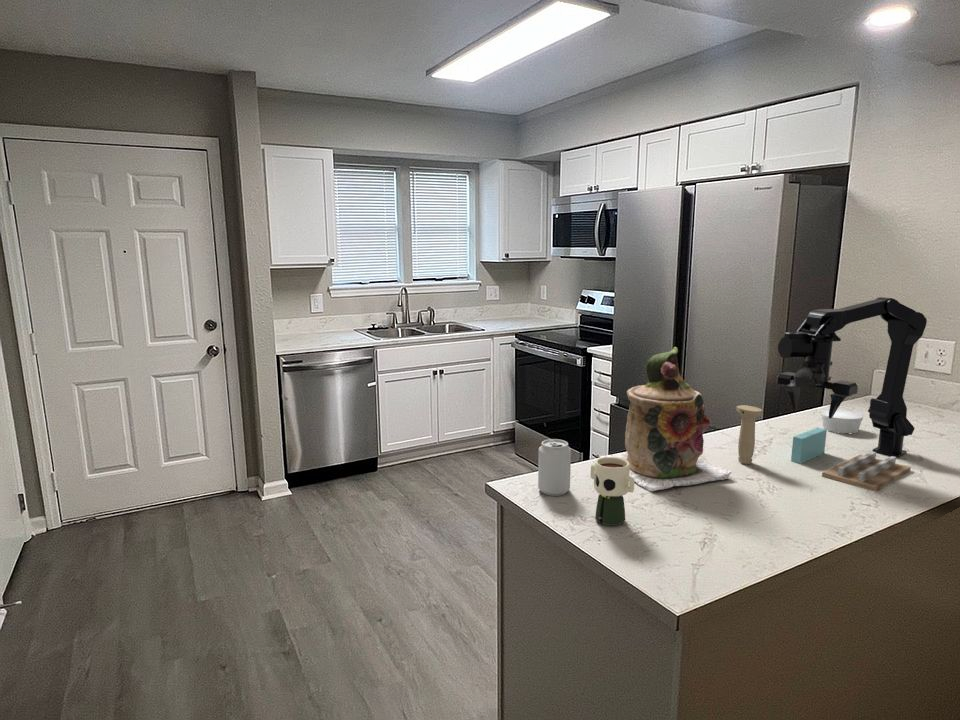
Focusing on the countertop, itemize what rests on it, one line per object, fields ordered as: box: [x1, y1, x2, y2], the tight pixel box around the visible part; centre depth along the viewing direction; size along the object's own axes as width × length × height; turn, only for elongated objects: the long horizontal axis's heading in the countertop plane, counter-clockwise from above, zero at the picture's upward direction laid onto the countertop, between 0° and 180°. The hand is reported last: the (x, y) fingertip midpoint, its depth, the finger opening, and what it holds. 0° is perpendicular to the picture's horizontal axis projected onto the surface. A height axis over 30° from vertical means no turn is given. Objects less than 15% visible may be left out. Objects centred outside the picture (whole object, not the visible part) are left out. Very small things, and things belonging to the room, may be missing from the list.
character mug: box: [590, 457, 635, 526], centre depth 127 cm, size 11×7×13 cm, turn 40°
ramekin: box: [820, 409, 864, 434], centre depth 191 cm, size 11×11×5 cm
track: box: [821, 451, 912, 492], centre depth 154 cm, size 22×12×3 cm, turn 127°
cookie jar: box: [599, 346, 733, 492], centre depth 154 cm, size 25×25×32 cm
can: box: [537, 438, 572, 497], centre depth 143 cm, size 8×8×12 cm
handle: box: [735, 404, 763, 465], centre depth 161 cm, size 5×6×15 cm
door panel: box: [790, 427, 828, 464], centre depth 166 cm, size 14×2×7 cm, turn 127°
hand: (812, 414), depth 165 cm, fingers open, 9 cm apart
